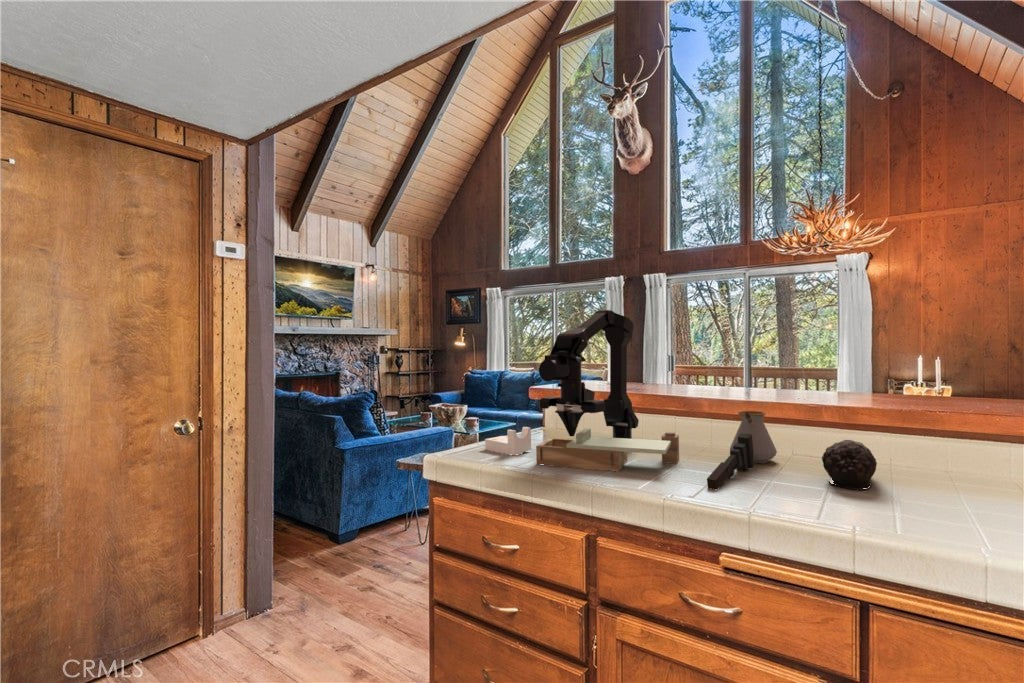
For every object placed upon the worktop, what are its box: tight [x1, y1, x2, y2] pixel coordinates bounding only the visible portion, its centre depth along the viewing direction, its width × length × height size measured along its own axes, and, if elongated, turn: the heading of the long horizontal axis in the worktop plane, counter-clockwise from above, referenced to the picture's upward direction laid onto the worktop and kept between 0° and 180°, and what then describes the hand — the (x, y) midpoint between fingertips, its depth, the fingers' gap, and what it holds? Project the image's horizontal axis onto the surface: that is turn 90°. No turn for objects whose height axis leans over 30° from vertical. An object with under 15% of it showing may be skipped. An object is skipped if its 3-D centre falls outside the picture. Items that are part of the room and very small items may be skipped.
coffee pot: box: [729, 410, 778, 464], centre depth 137 cm, size 21×12×15 cm, turn 151°
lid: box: [567, 428, 671, 455], centre depth 139 cm, size 12×25×3 cm, turn 67°
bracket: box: [484, 426, 532, 456], centre depth 160 cm, size 13×7×8 cm, turn 42°
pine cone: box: [821, 439, 878, 491], centre depth 120 cm, size 10×18×10 cm, turn 151°
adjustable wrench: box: [706, 434, 754, 490], centre depth 125 cm, size 8×3×25 cm
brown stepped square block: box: [661, 431, 680, 464], centre depth 142 cm, size 4×4×8 cm
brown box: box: [535, 437, 628, 472], centre depth 142 cm, size 13×22×5 cm, turn 67°
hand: (571, 436), depth 144 cm, fingers closed
